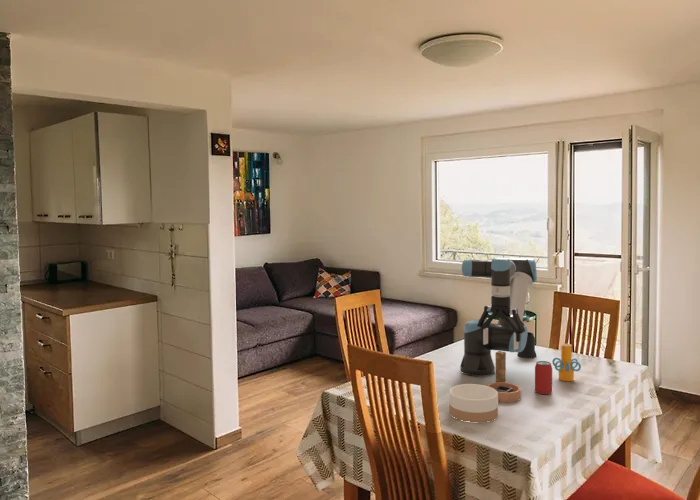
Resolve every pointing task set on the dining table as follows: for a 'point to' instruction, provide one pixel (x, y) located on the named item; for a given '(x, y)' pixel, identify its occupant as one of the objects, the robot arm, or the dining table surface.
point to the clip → (504, 389)
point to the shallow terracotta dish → (505, 395)
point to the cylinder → (566, 363)
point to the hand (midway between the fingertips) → (500, 346)
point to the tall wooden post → (500, 366)
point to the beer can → (543, 377)
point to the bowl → (473, 402)
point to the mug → (528, 347)
